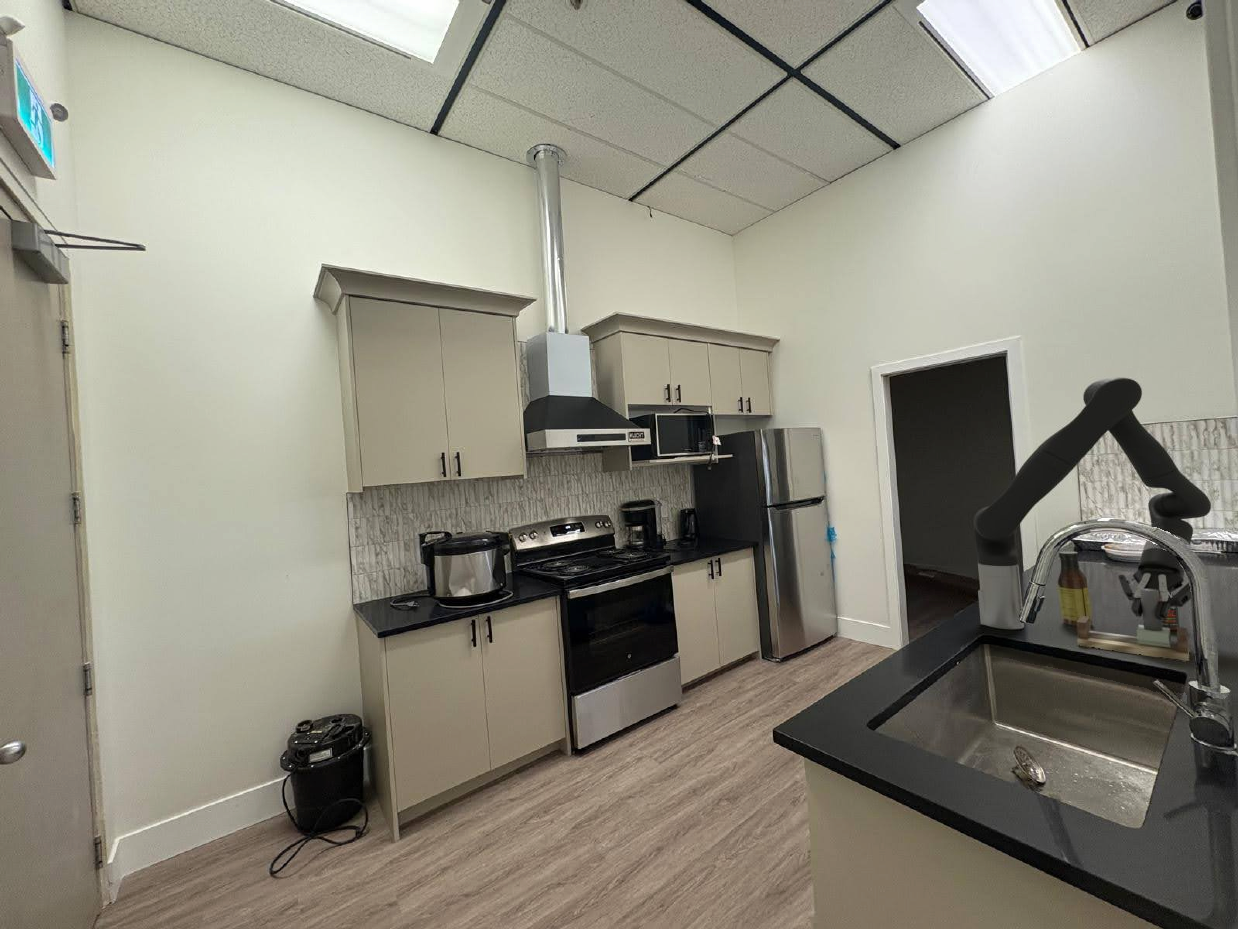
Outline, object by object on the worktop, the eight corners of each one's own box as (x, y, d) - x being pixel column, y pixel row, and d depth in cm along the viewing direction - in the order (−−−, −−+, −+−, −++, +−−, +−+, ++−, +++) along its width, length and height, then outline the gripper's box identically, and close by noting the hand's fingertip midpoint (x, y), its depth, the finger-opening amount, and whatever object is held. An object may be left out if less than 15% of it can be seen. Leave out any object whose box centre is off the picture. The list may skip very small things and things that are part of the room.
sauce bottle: (1080, 621, 143) (1073, 550, 144) (1099, 627, 137) (1092, 552, 138) (1055, 621, 144) (1048, 551, 145) (1073, 628, 137) (1065, 554, 138)
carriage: (1137, 644, 117) (1132, 591, 118) (1140, 638, 121) (1135, 586, 122) (1169, 648, 113) (1164, 593, 114) (1171, 642, 117) (1165, 589, 118)
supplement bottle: (1154, 630, 132) (1150, 586, 132) (1142, 624, 137) (1137, 582, 138) (1186, 631, 129) (1181, 587, 130) (1171, 625, 135) (1167, 582, 135)
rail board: (1078, 645, 124) (1075, 622, 124) (1084, 637, 130) (1082, 615, 130) (1188, 661, 110) (1185, 636, 111) (1189, 651, 116) (1187, 627, 116)
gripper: (1119, 544, 128) (1101, 601, 122) (1201, 549, 115) (1186, 612, 109) (1131, 563, 130) (1114, 619, 124) (1213, 570, 117) (1198, 633, 111)
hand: (1148, 616), depth 117 cm, fingers closed on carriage, 3 cm apart
